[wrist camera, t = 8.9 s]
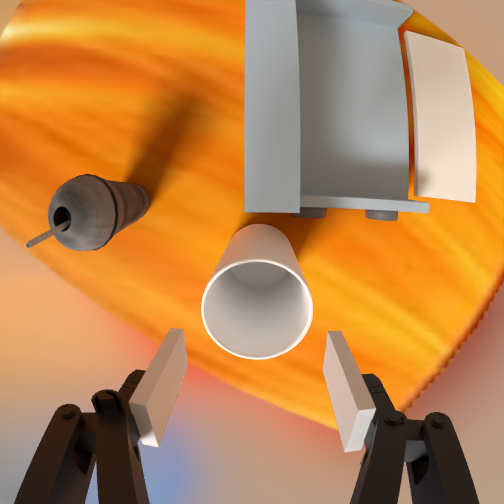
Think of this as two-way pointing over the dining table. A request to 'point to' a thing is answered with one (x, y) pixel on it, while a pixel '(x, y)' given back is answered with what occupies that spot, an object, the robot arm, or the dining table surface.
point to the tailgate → (442, 119)
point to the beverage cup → (92, 211)
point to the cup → (257, 295)
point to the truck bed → (326, 108)
